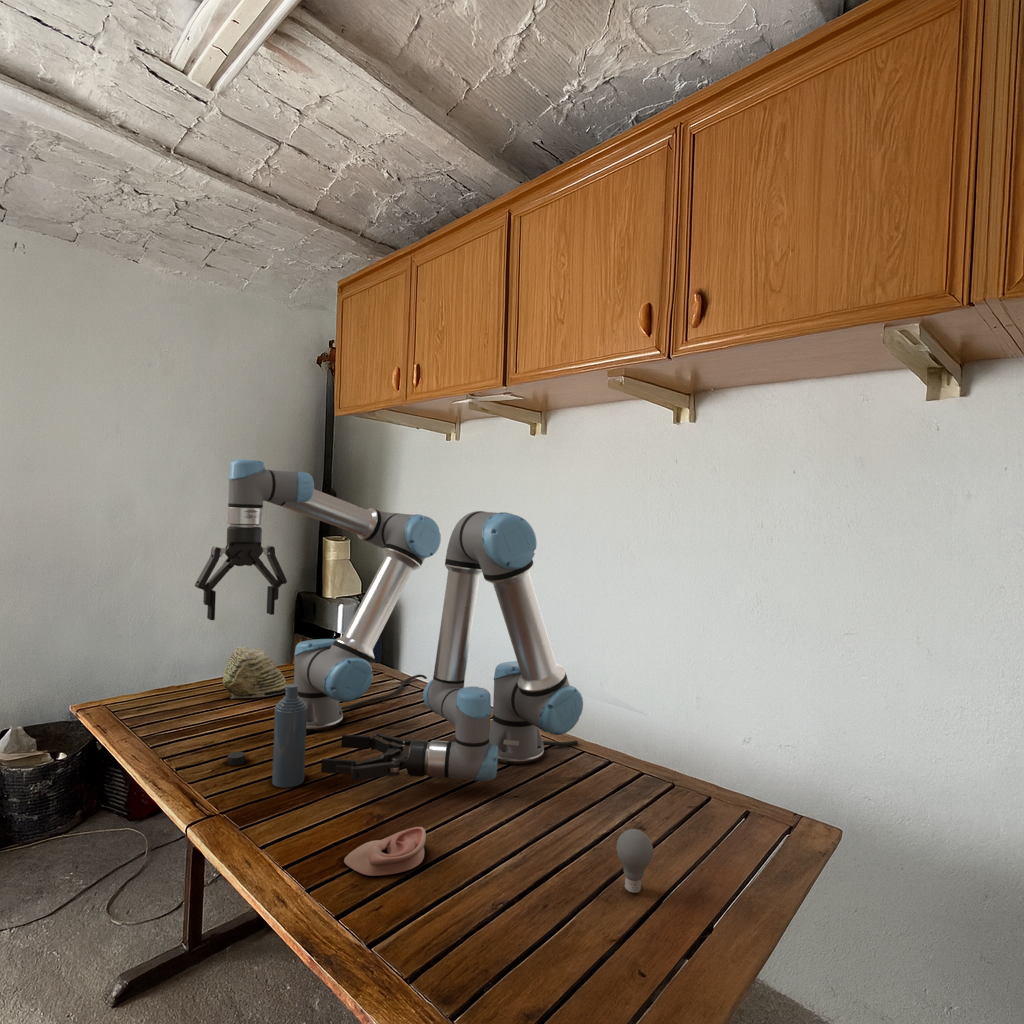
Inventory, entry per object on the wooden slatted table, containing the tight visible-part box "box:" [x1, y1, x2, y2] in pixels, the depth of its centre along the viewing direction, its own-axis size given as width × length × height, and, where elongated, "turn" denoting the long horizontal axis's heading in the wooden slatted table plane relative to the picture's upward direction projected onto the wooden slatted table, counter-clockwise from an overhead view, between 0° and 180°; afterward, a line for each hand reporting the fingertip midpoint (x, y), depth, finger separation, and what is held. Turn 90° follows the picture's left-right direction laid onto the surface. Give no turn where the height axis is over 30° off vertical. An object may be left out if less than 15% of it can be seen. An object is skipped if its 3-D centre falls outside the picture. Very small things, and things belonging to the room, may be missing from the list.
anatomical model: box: [343, 826, 427, 877], centre depth 112 cm, size 13×4×12 cm
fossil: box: [222, 646, 287, 699], centre depth 198 cm, size 9×18×15 cm, turn 132°
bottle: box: [271, 683, 307, 789], centre depth 140 cm, size 7×7×21 cm
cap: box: [226, 751, 247, 767], centre depth 149 cm, size 4×4×2 cm
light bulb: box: [615, 828, 654, 894], centre depth 106 cm, size 6×6×10 cm
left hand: (241, 616), depth 148 cm, fingers open, 13 cm apart
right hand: (332, 752), depth 140 cm, fingers open, 13 cm apart
